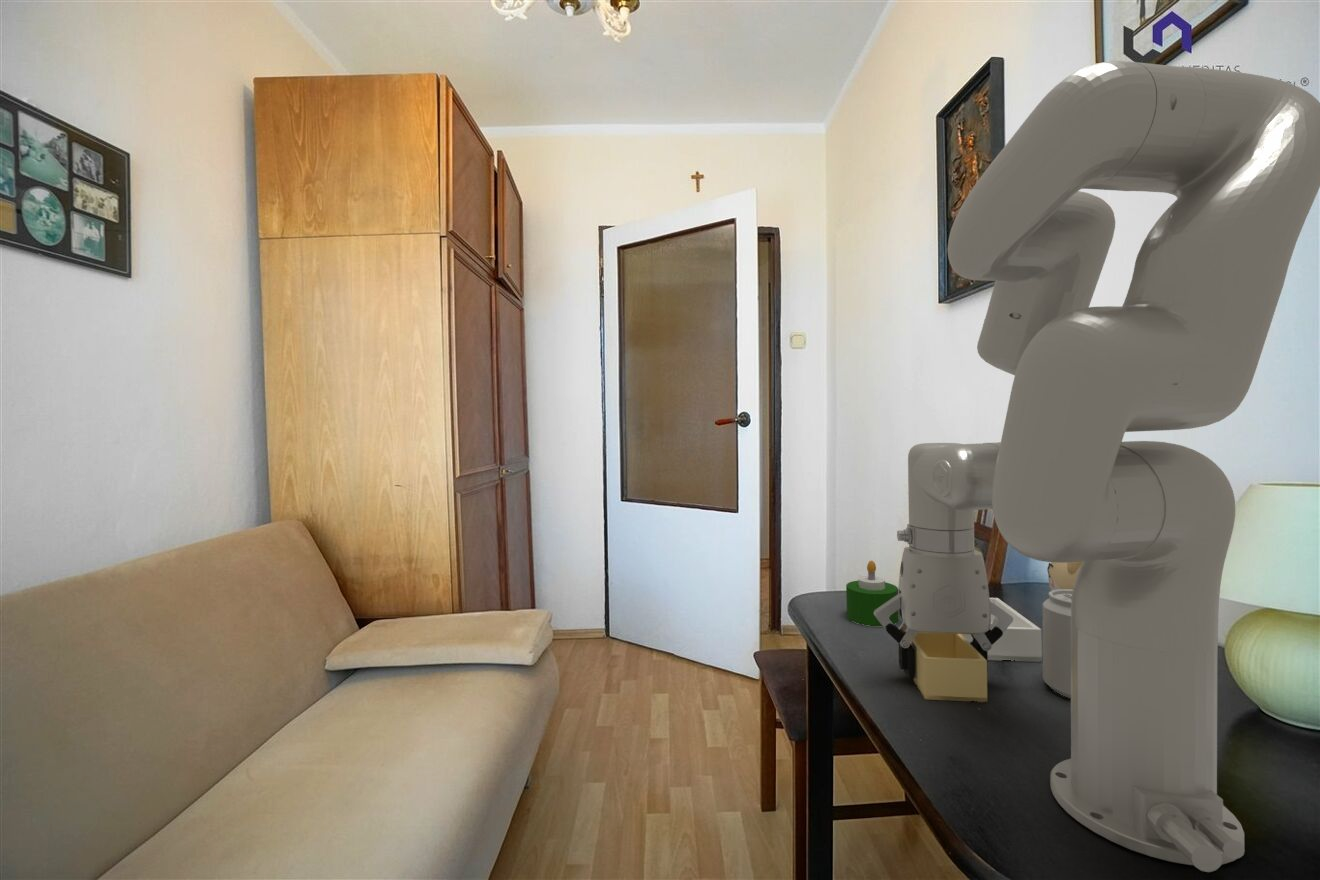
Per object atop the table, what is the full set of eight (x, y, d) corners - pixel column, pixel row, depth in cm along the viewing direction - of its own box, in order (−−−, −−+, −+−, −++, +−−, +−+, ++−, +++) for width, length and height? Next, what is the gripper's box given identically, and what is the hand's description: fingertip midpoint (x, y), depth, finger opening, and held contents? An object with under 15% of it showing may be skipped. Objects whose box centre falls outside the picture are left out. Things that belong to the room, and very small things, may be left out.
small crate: (987, 702, 69) (987, 660, 69) (924, 699, 70) (924, 658, 70) (957, 666, 79) (957, 630, 79) (903, 664, 80) (903, 629, 80)
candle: (837, 619, 99) (836, 561, 99) (861, 607, 104) (861, 552, 104) (883, 631, 93) (882, 569, 92) (907, 618, 98) (906, 560, 98)
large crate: (1041, 661, 80) (1041, 629, 80) (930, 657, 82) (930, 626, 82) (997, 625, 94) (997, 597, 94) (904, 622, 96) (903, 595, 96)
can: (1132, 709, 67) (1132, 605, 66) (1060, 704, 68) (1059, 603, 68) (1097, 680, 74) (1097, 587, 74) (1032, 676, 75) (1032, 585, 75)
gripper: (875, 545, 72) (877, 686, 72) (1028, 546, 69) (1029, 693, 69) (864, 533, 79) (866, 661, 79) (1002, 534, 76) (1003, 666, 77)
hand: (942, 675), depth 74 cm, fingers open, 7 cm apart
